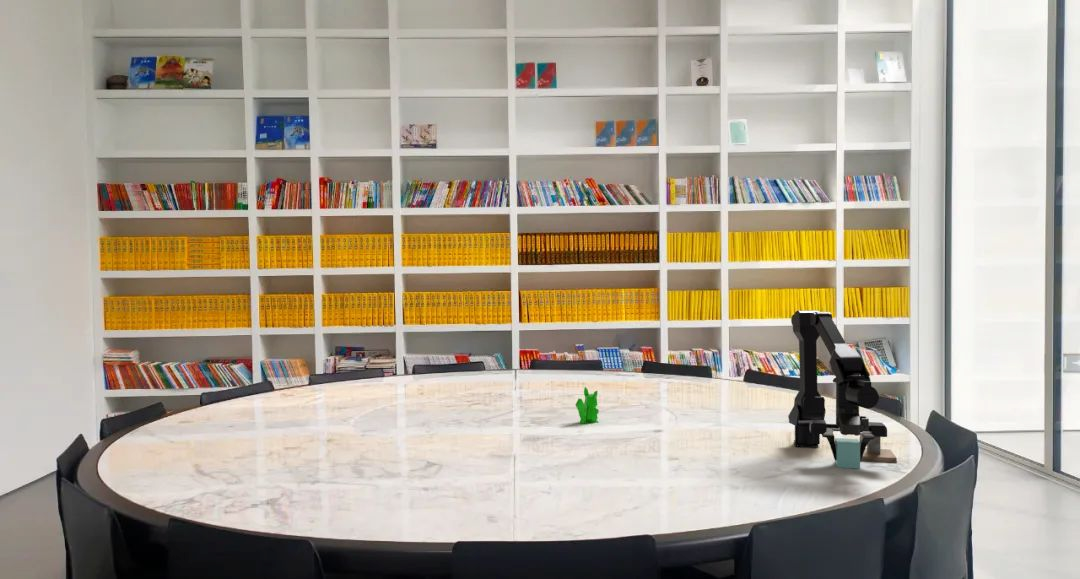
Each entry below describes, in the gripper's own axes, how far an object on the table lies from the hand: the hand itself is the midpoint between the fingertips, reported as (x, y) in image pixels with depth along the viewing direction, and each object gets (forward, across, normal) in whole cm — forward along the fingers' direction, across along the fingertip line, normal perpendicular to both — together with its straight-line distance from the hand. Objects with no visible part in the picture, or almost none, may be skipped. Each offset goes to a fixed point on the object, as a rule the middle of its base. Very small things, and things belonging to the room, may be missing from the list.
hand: (847, 460), depth 205 cm
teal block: (+1, 0, 0) cm, 1 cm away
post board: (+1, +8, +11) cm, 14 cm away
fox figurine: (+2, -78, +40) cm, 88 cm away
